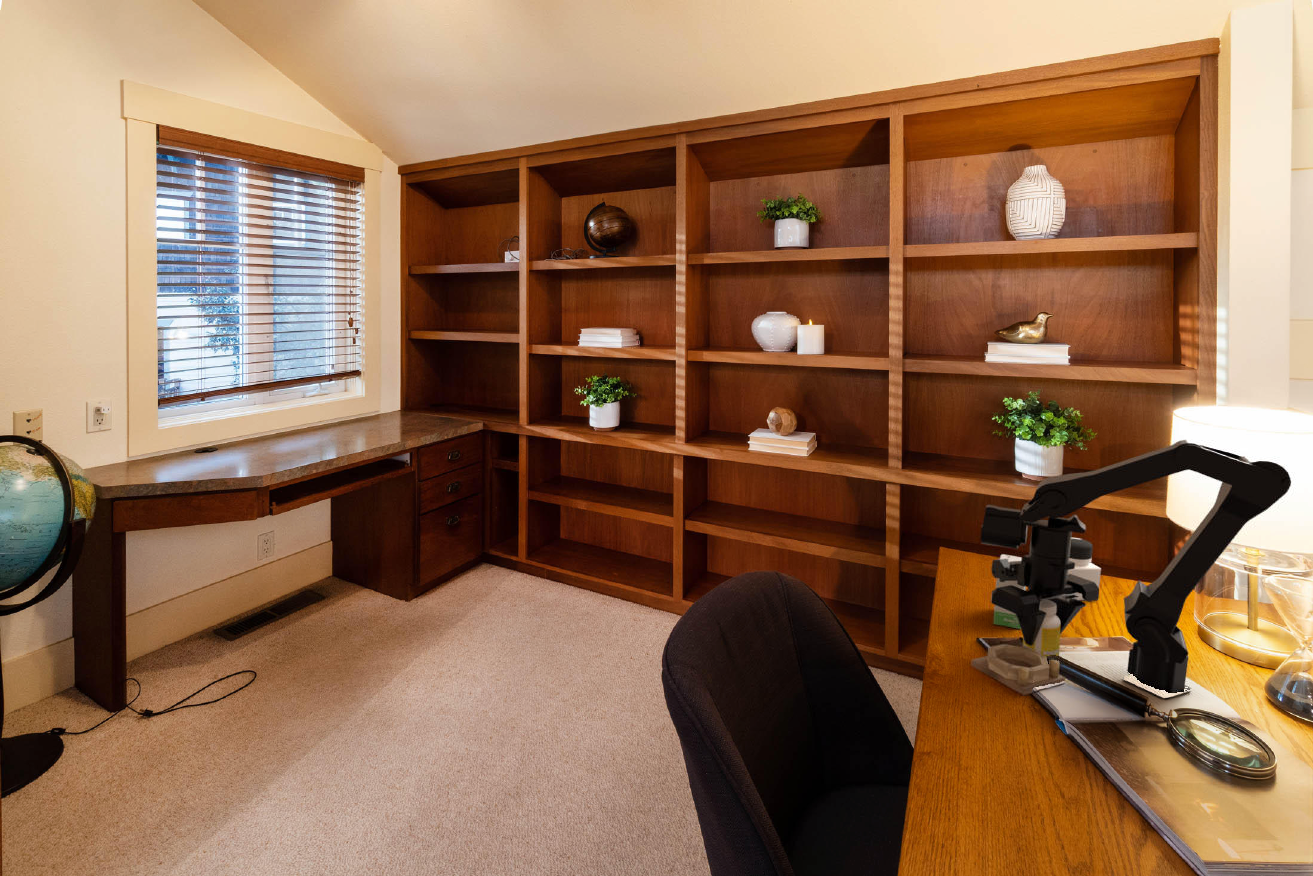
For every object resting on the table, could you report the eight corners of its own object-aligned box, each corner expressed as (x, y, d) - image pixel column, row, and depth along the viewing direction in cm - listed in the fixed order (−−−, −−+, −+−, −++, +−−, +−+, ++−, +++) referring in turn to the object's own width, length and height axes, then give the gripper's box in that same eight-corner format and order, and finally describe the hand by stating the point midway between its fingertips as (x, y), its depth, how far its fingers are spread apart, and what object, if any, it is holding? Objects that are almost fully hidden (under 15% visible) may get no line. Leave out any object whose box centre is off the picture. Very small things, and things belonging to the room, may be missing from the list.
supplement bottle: (1062, 655, 112) (1065, 601, 110) (1054, 668, 108) (1057, 613, 107) (1027, 646, 116) (1029, 594, 114) (1018, 658, 112) (1020, 604, 110)
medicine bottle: (1098, 600, 137) (1104, 545, 135) (1064, 600, 137) (1069, 545, 135) (1077, 587, 144) (1082, 535, 142) (1044, 588, 144) (1049, 535, 142)
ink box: (1021, 630, 123) (1026, 570, 122) (992, 624, 126) (996, 565, 124) (1024, 614, 131) (1028, 557, 129) (996, 608, 133) (1000, 553, 131)
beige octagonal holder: (1064, 683, 104) (1066, 663, 104) (1023, 695, 101) (1025, 674, 101) (1010, 655, 114) (1011, 637, 113) (971, 665, 110) (972, 646, 110)
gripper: (1044, 534, 120) (1037, 614, 122) (968, 545, 113) (961, 631, 115) (1105, 552, 110) (1096, 640, 112) (1025, 566, 103) (1017, 659, 105)
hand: (1041, 641), depth 112 cm, fingers closed on supplement bottle, 5 cm apart
